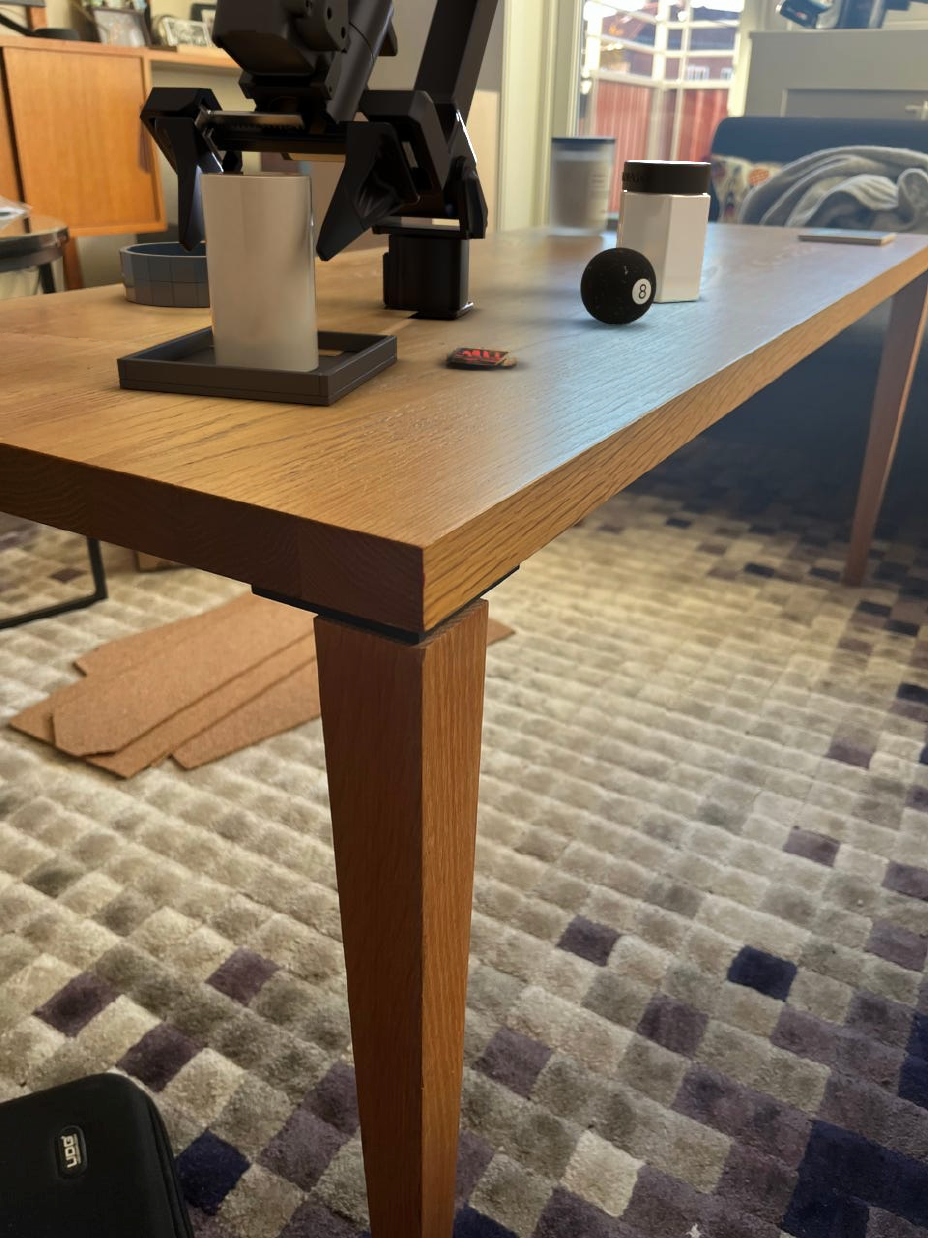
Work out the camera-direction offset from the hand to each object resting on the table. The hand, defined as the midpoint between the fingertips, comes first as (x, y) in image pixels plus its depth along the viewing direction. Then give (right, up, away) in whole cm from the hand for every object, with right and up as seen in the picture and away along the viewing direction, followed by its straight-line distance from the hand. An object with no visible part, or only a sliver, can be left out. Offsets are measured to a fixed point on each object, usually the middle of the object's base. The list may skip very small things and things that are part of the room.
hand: (251, 251), depth 59 cm
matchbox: (+14, -4, +9) cm, 17 cm away
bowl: (-11, +6, +29) cm, 31 cm away
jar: (+31, +10, +39) cm, 51 cm away
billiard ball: (+25, +3, +24) cm, 35 cm away
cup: (0, -6, +4) cm, 7 cm away
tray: (0, -6, +4) cm, 7 cm away
